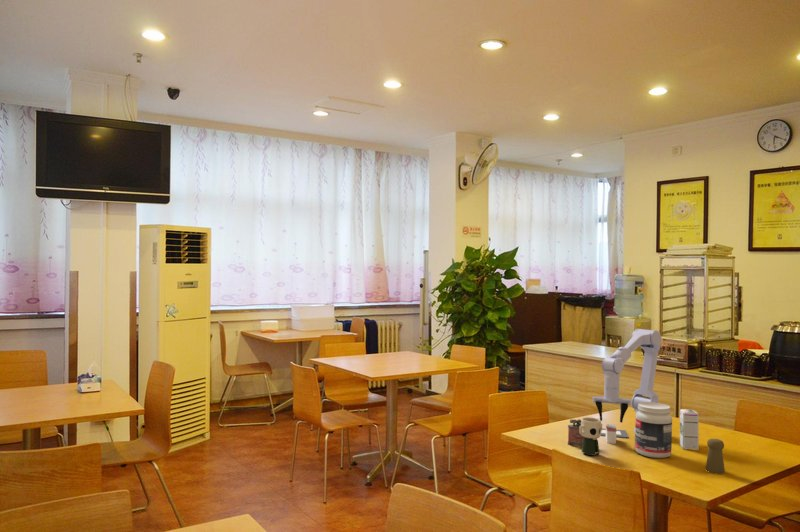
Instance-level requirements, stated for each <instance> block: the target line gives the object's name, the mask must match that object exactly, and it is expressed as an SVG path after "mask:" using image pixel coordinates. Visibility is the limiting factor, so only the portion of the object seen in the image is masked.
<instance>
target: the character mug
mask: <svg viewBox="0 0 800 532" xmlns="http://www.w3.org/2000/svg"><path fill="white" fill-rule="evenodd" d="M580 419H581V426H580V427H579V433H580V434H581V435H582V436H584V437H585V438H584V439H583V444H582V446H581V452H582V453H584V454H585V455H588V456H596V453H597V455H600V447H599V440H598V439H599V438H600V437H602V436H601V431H602V428H603V423H602V421H601V420H600V418H595V417H593V416H592V417H590V416H586V417H581V418H580Z"/></svg>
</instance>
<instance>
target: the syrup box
mask: <svg viewBox="0 0 800 532" xmlns="http://www.w3.org/2000/svg"><path fill="white" fill-rule="evenodd" d="M699 418H700V415H699V412H697V411H696V410H695V409H689V408H688V409H685V408H684V409H679V447H681V448H682V449H683V450H687V449H695V450H694V451H699V449H700V448H699V441H700V439H699V433H700V432H699V430H700V429H699V425H700V424H699V423H700V422H699V420H700V419H699Z"/></svg>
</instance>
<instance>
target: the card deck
mask: <svg viewBox="0 0 800 532" xmlns="http://www.w3.org/2000/svg"><path fill="white" fill-rule="evenodd" d="M605 429H606V436H605V440H606V441H605V442H606V443H607V444H613V445H614V444H615V445H616V444H617V437H616V430H617V427H616V425H615V424H614V423H613V424H612V423H605Z"/></svg>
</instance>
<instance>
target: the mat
mask: <svg viewBox="0 0 800 532" xmlns="http://www.w3.org/2000/svg"><path fill="white" fill-rule="evenodd" d="M600 437H606V428H603V427H602V431H601V436H600ZM616 438H622V439H629V434H628V433H627V430H626V429H616Z"/></svg>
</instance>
